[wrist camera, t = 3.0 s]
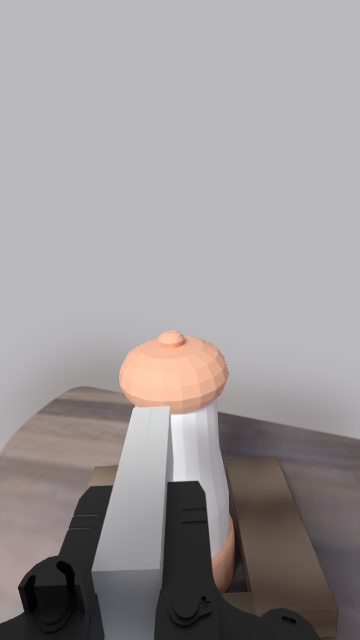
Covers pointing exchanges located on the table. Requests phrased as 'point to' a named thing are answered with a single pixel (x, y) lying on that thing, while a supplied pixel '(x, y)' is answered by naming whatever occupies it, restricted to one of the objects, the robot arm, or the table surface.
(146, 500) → the robot arm
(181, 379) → the salt shaker
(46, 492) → the table surface
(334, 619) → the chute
